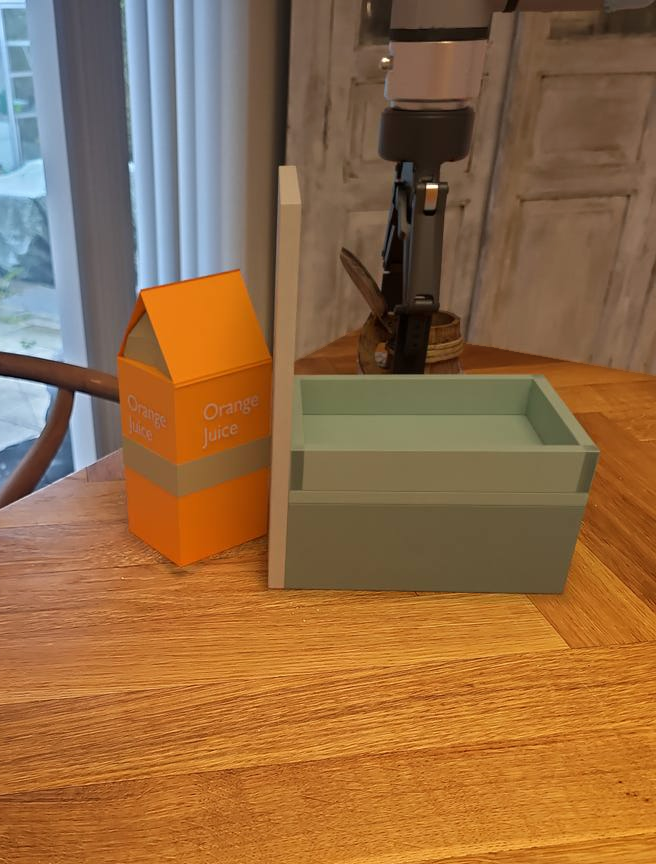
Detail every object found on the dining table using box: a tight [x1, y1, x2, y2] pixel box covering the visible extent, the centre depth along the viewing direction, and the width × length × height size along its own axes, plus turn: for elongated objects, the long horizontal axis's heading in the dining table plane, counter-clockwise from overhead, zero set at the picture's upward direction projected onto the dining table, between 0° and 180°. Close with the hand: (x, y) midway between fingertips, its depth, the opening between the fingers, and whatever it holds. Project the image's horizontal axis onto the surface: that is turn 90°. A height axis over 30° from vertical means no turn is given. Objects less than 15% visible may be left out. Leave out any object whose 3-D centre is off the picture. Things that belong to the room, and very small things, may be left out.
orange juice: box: [116, 268, 273, 568], centre depth 67 cm, size 8×9×20 cm
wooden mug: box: [339, 246, 464, 375], centre depth 83 cm, size 9×14×18 cm, turn 100°
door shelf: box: [267, 165, 601, 595], centre depth 63 cm, size 21×15×26 cm
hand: (396, 363), depth 84 cm, fingers open, 13 cm apart
